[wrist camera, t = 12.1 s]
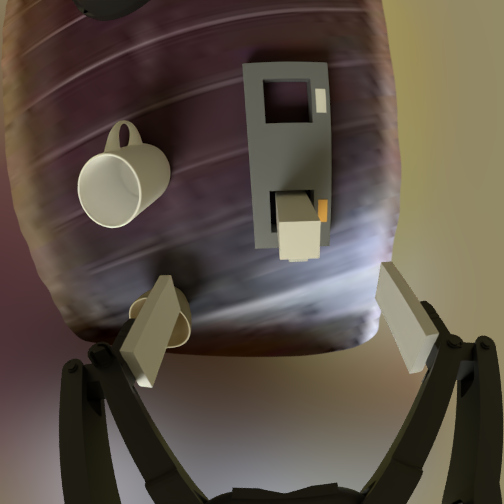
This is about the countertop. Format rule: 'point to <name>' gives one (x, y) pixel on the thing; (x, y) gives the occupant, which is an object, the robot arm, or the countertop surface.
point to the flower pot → (182, 322)
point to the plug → (297, 226)
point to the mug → (122, 179)
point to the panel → (288, 145)
